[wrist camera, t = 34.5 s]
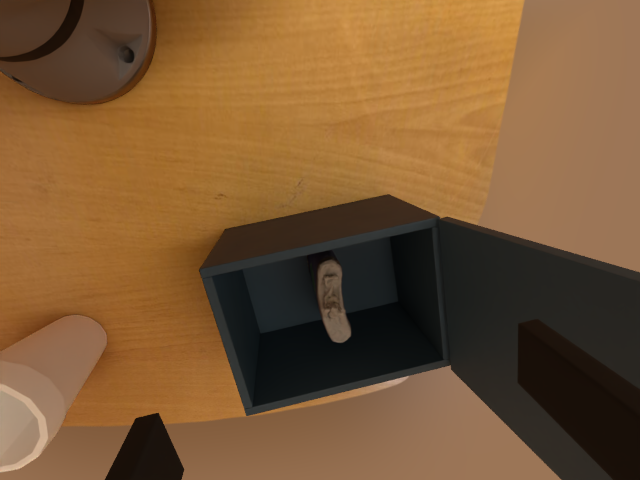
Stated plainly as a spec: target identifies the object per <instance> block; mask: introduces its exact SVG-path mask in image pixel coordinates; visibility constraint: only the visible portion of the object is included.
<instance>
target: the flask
mask: <svg viewBox="0 0 640 480" xmlns="http://www.w3.org/2000/svg"><path fill="white" fill-rule="evenodd" d="M307 259H308V261H307V262H308V267H309V273H310V275H311V279H312V284H313V287H314V291H315V295H316V298H317V302H318V307H319V311H320V315H321V318H322V321H323V324H324V326H325V329H326V331H327V334H328V336H329V337H330V339H331V340H332V341H333V342H337V343H343V342H345V341H346V340H348V339H349V337H351V325H350V322H349V320H348V318H347V316H346V313H345V312H346V311H345V308H344V302H343V296H342V267H341V265H340V262H339V261H338V259H337V258H336V256H335V254H334V252H333V251H332V250H328V251H323V252H319V253H314V254H310V255H307Z"/></svg>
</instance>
